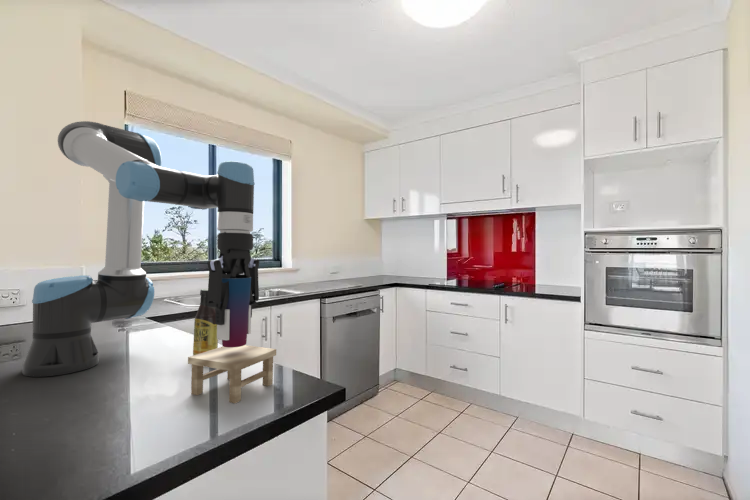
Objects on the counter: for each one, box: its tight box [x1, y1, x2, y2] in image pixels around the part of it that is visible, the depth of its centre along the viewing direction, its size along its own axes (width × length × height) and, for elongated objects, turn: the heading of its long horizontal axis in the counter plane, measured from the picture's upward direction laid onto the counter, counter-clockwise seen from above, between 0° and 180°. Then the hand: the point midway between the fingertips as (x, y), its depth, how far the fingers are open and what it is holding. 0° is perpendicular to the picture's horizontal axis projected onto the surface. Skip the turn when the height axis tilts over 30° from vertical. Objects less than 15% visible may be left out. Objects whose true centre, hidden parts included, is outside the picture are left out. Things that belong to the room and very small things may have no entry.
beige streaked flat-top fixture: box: [187, 344, 277, 404], centre depth 83 cm, size 13×13×8 cm
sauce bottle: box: [192, 288, 219, 356], centre depth 104 cm, size 6×6×20 cm
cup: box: [221, 277, 251, 347], centre depth 83 cm, size 7×7×15 cm
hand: (234, 336), depth 83 cm, fingers closed on cup, 6 cm apart
